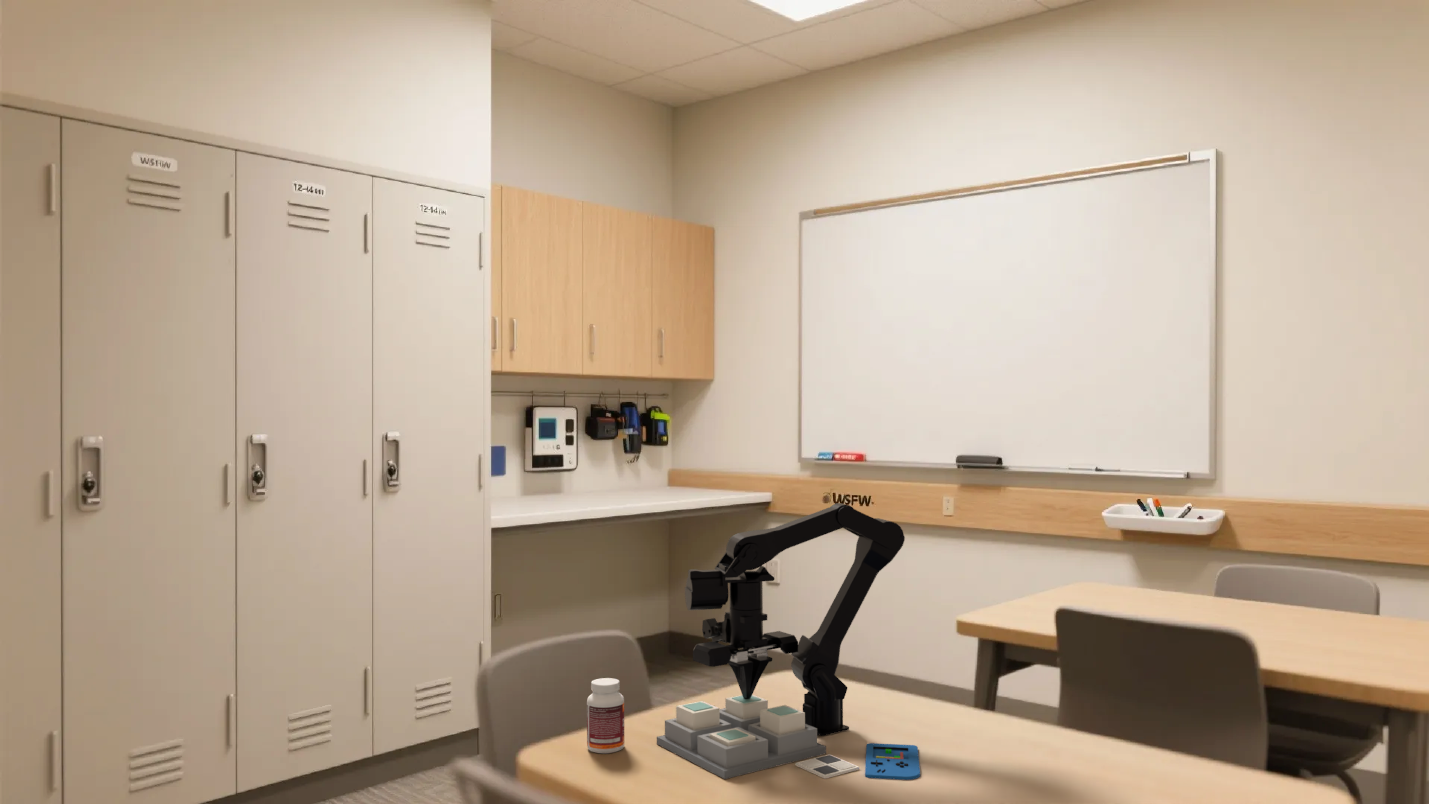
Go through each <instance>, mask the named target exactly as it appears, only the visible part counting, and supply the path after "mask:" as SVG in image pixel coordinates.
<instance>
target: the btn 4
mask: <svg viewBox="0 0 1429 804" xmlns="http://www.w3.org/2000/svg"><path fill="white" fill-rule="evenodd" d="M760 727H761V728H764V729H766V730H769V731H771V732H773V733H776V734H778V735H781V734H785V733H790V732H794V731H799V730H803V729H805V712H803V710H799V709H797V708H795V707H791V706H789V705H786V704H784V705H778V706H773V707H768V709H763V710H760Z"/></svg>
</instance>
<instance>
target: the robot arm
mask: <svg viewBox="0 0 1429 804" xmlns="http://www.w3.org/2000/svg"><path fill="white" fill-rule="evenodd" d="M840 529H844V530H846V531H847V532H849V533H851V534H853V535H855V536H857V537H858V538H857V540H856V541H857V542H856V545H855V554H854V561H853V563H852V565H851V566H850V569H849V570H848V573H847V574H846V576H845V578H844V581H843V582H842V584H841V585H840V587H839V589H838V592H837V593H836V595H835V597H834V598H833V600H832V603H831V604H830V607H829V609H828V611H827V613H826V615H825V616H824V618H823V620H822V622H821V624H820V626H819V628H818V629H817V630H816V632H814V634H812V635H811V636H810V637H807V636H806V635H804V634H802V635H801V637H800V638H799V641H798V639H797V637H796V636H795V635H794V634H791V633H787V632H784V631H781V630H778V631H771V632H764V623H763V622H765V621H768V614H767V613H764V609H763V606H764V605H763V603H764V602H763V601H764V600H763V599H764V598H763V597H764V595H763V582H774V580H775V576H773V575H772V574H771V573H770V572H769V571H768V569H767V567H766V566H764V565H765V564H767V563H769V562H770V561H772V560H773V559H774V558H776V557H777V556H778V555H779V554H781V553H782V552H783V551H785V550H788V549H789V548H793V547H795V546H798V545H801V544H804V543H806V542H810V541H811V540H814V539H817V538H819V537H821V536H825V535H828V534H830V533H833V532H835V531H838V530H840ZM905 539H906V537H905V535H904V530H903V529H902V527H901V526H900V525H899V524H898V523H896V522H894V521H891V520H887V519H883V518H878V517H877V518H874V517H873V516H869V515H867V514H865V513H863V512H861V511H859V510H857V509H855V508H854V507H853V506H851V505H849V504H845V503H839V502H838V503H837V502H835V503H834V504H833V505H831V506H830V507H827V508H824V509H822V510H818V511H815V512H813V513H810V514H807V515H805V516H803V517H798V518H796V519H794V520H791V521H790V522H787V523H783V524H780V525H779V526H775V527H770V528H765V529H755V530H748V531H743V532H742V531H741V532H738V533H736V534H734V535H731V537H730V538H729V540H728V542H727V544H726V548H725V552H724V554H723V555H722V557H721V558H720V560H719V561H718V562H717V564H716V566H714V569H701V570H700V569H694V568H693V569H688V570H687V577H686V583H685V587H684V598H685V605H686V608H687V611H701V610H702V611H703V610H704V611H705V610H719V609H720V610H721V609H722V608H723V606H724V605H725V606H726V605H727V603H728V601H729V611H725V613H724V618H723V619H724V620H723V621H717V619H716V618H714V617H713V618H706V619H704V620H702V636H703V637H704V639H711V641H708V642H703V643H702V642H700V643H696V645H695V646H694V648H693V650H692V661H694V662H697V663H699V664H701V665H704V666H706V667H710V668H711V667H721V666H726V665H729V666H730V668H731V669H732V672H733V674H734V676H735V678H736V679H735V680H736V682H737V684H738V687H739V690H740V692H741V695H742V696H743V698H744V699H750V698H751V696H752V695H754V692H755V689H756V687H757V685H758V683H759V681H760V679H761V677H762V675H763V673H764V671H765V669H766V668H767V666H768V664H769V663H771V662H772V661H773V657H771V656H768V655H769V654H768V651H770V650H776V649H780V651H781V652H782V653H783V654H785V655H789V654H791V656H792V661H791V669H792V674H793V675H794V676H795V678H797V679H798V680H799V681H801V684H802V687H803V689H805V690H807V692H806V693H804V694H803V698H804V699H803V700H804V701H803V703H802V711H803V712H805V724H807V725H810V726H812V727H815V728H817V736H820V737H823V736H829V735H833V734H838V733H842V732H845V731H849V730H850V726H848V725H846V724H844V699H845V696H846V694H847V691H848V686H847V685H846V684H845V683H844V682H843V681H842V680H841V679H840V678H839V677H838V676H837V675H836V672H837V668H838V666H839V662H840V653H841V645H842V642H843V640H844V639H845V637H846V635H847V633H848V632H849V630H850V628H851V625H852V623H853V622H854V619H855V618H856V616H857V614H858V612H859V611H860V609H861V606H862V604H863V603H864V601H865V599H866V597H867V595H868V593H869V591H870V588H871V587H872V585H873V583H874V582H875V579H876V578H877V576H878V574H879V572H881V571H882V570H883V569H884V568H885V567H887V566H888V565H889V563H891V562H892V561H893V560H894V558H895V557H896V556H897V554H898V553H899V552H900V550H901V549H902V548H903V546H904V544H905ZM720 642H722V643H723V644H722V643H720ZM727 643H728V644H727ZM725 644H727V645H725Z"/></svg>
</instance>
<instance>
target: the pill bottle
mask: <svg viewBox="0 0 1429 804" xmlns="http://www.w3.org/2000/svg"><path fill="white" fill-rule="evenodd" d="M590 683H591V684H590V689H591V691H592V693H591V694H590V695H589V696H588V697H587V698H586V699H587V700H586V747H587V749H588V750H589V752H592V753H597V754H611V753H612V754H613V753H617V752H619V751H621V750H623V749H624V748H625V697H624V695H622V693H620V688H621V686H620V685H621V684H620V680H619V679H617V678H611V677H605V678H603V677H601V678H597V679H593V680H591V682H590Z"/></svg>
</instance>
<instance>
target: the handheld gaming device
mask: <svg viewBox="0 0 1429 804" xmlns="http://www.w3.org/2000/svg"><path fill="white" fill-rule="evenodd" d="M918 748H919V747H918V746H917V745H915V744H895V743H875V742H871V743H870V742H869V743H867V744H866V748H865V749H866V750H865V767H864V769H865V770H864V777H865V778H866V779H867V778H868V779H879V780H883V779H884V780H899V781H900V780H901V781H911V780H912V781H913V780H916V779H918V778H920V777H921V768H920V767H921V766H920V758H919V757H920V756H919V749H918Z"/></svg>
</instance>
